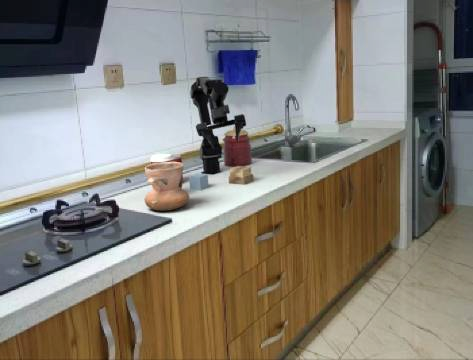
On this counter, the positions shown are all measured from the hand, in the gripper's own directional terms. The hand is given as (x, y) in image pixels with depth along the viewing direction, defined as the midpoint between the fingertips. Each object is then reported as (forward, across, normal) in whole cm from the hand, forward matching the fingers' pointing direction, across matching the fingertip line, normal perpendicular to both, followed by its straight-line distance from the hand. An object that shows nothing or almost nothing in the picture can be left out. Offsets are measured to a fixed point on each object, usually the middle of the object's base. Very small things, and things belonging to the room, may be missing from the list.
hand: (225, 145), depth 184 cm
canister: (-8, +2, +44) cm, 45 cm away
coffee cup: (+16, -25, -4) cm, 30 cm away
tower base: (+12, +3, +13) cm, 17 cm away
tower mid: (+9, +3, +11) cm, 15 cm away
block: (+12, -13, +6) cm, 19 cm away
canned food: (+5, -24, +14) cm, 28 cm away
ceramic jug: (+24, -22, -15) cm, 36 cm away
